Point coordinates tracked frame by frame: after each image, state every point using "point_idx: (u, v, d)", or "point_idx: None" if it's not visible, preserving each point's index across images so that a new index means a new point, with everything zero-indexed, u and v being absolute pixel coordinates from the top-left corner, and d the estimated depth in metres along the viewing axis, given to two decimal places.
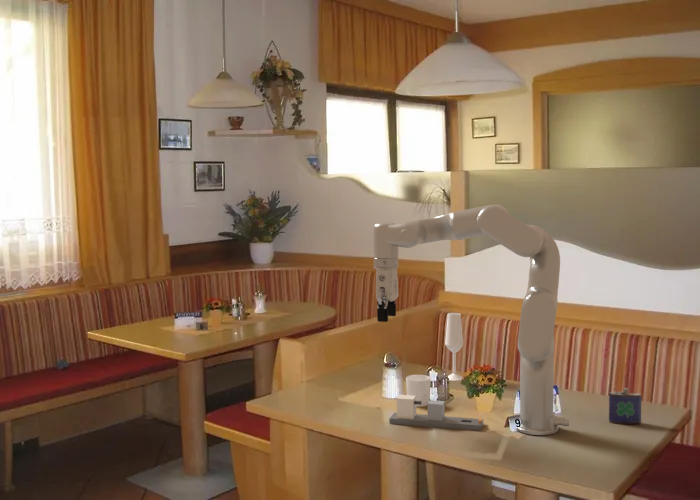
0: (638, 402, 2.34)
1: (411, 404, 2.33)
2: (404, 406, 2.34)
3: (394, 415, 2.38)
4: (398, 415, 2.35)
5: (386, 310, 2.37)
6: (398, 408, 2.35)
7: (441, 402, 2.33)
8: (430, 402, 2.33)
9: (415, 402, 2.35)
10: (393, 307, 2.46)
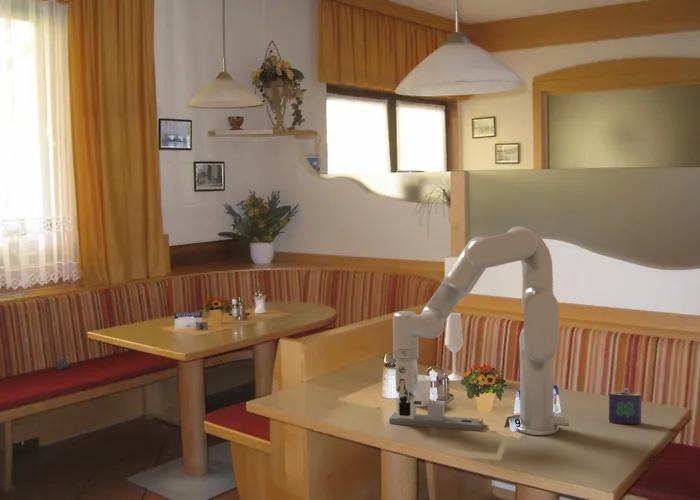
0: (638, 402, 2.34)
1: (411, 404, 2.33)
2: None
3: (394, 415, 2.38)
4: (398, 415, 2.35)
5: (408, 404, 2.33)
6: (398, 408, 2.35)
7: (441, 402, 2.33)
8: (430, 402, 2.33)
9: (415, 402, 2.35)
10: None
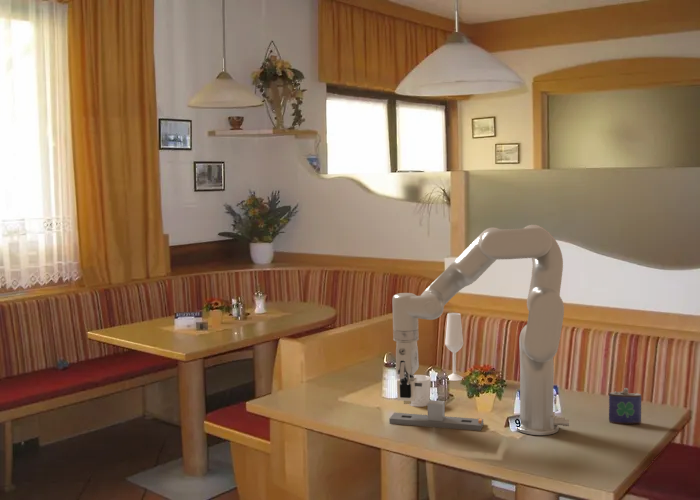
0: (638, 402, 2.34)
1: (412, 386, 2.33)
2: None
3: (394, 415, 2.38)
4: (399, 397, 2.34)
5: (409, 386, 2.32)
6: (399, 390, 2.34)
7: (441, 402, 2.33)
8: (430, 402, 2.33)
9: (416, 384, 2.34)
10: None
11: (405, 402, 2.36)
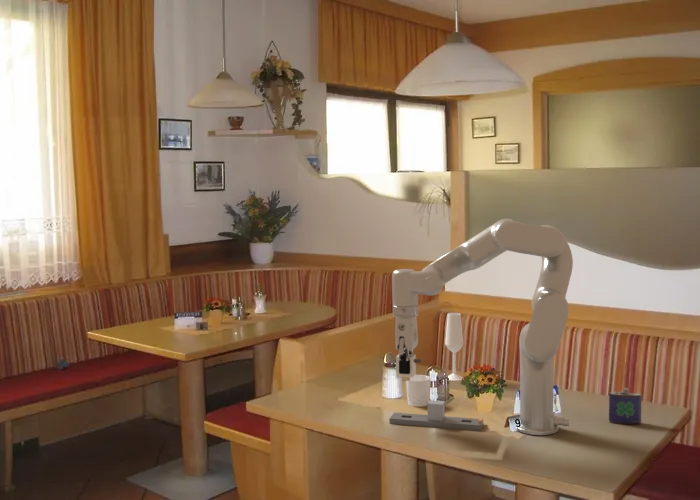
0: (638, 402, 2.34)
1: (411, 362, 2.32)
2: None
3: (394, 415, 2.38)
4: (398, 373, 2.34)
5: (408, 362, 2.32)
6: (398, 366, 2.34)
7: (441, 402, 2.33)
8: (430, 402, 2.33)
9: (415, 360, 2.33)
10: None
11: (404, 378, 2.35)
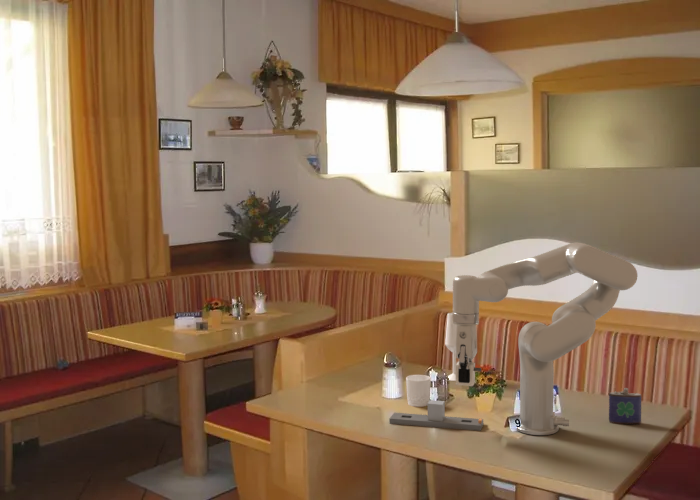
0: (638, 402, 2.34)
1: (471, 371, 2.27)
2: None
3: (394, 415, 2.38)
4: (457, 382, 2.29)
5: (468, 371, 2.27)
6: (457, 375, 2.28)
7: (441, 402, 2.33)
8: (430, 402, 2.33)
9: (475, 369, 2.28)
10: None
11: (463, 387, 2.30)
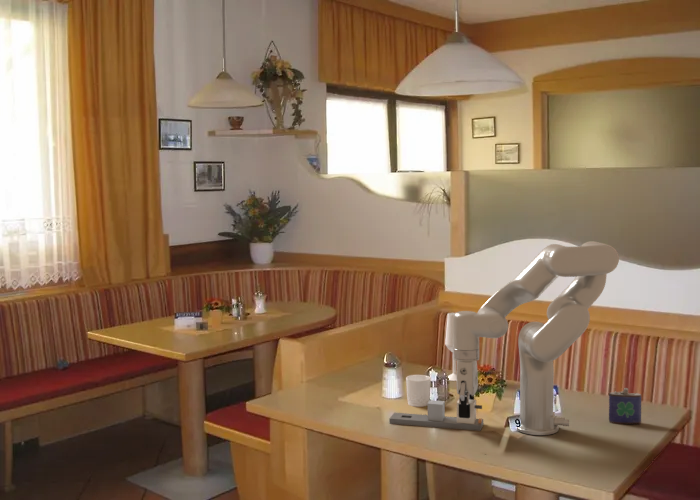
0: (638, 402, 2.34)
1: (472, 409, 2.28)
2: None
3: (394, 415, 2.38)
4: (458, 420, 2.30)
5: (468, 406, 2.26)
6: (458, 412, 2.29)
7: (441, 402, 2.33)
8: (430, 402, 2.33)
9: (476, 406, 2.29)
10: None
11: None
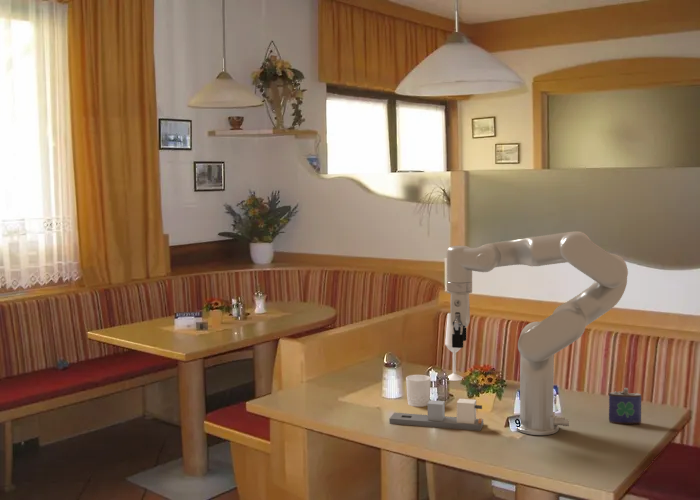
0: (638, 402, 2.34)
1: (472, 409, 2.28)
2: (464, 410, 2.29)
3: (394, 415, 2.38)
4: (458, 420, 2.30)
5: (461, 336, 2.31)
6: (458, 412, 2.29)
7: (441, 402, 2.33)
8: (430, 402, 2.33)
9: (476, 406, 2.29)
10: (464, 332, 2.40)
11: None
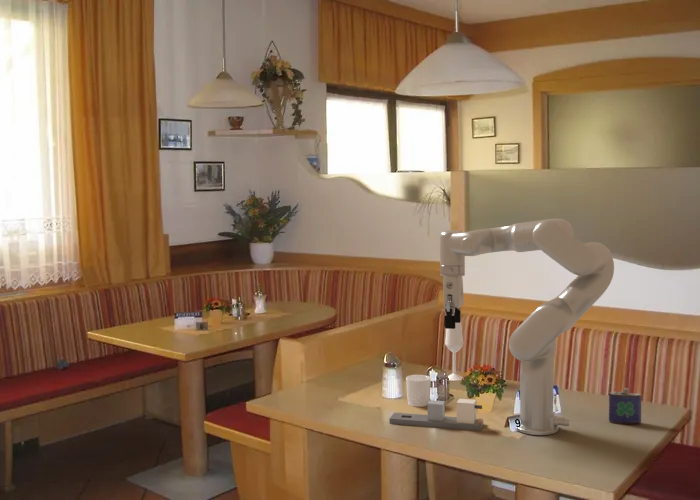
0: (638, 402, 2.34)
1: (472, 409, 2.28)
2: (464, 410, 2.29)
3: (394, 415, 2.38)
4: (458, 420, 2.30)
5: (453, 317, 2.39)
6: (458, 412, 2.29)
7: (441, 402, 2.33)
8: (430, 402, 2.33)
9: (476, 406, 2.29)
10: (458, 314, 2.48)
11: None
